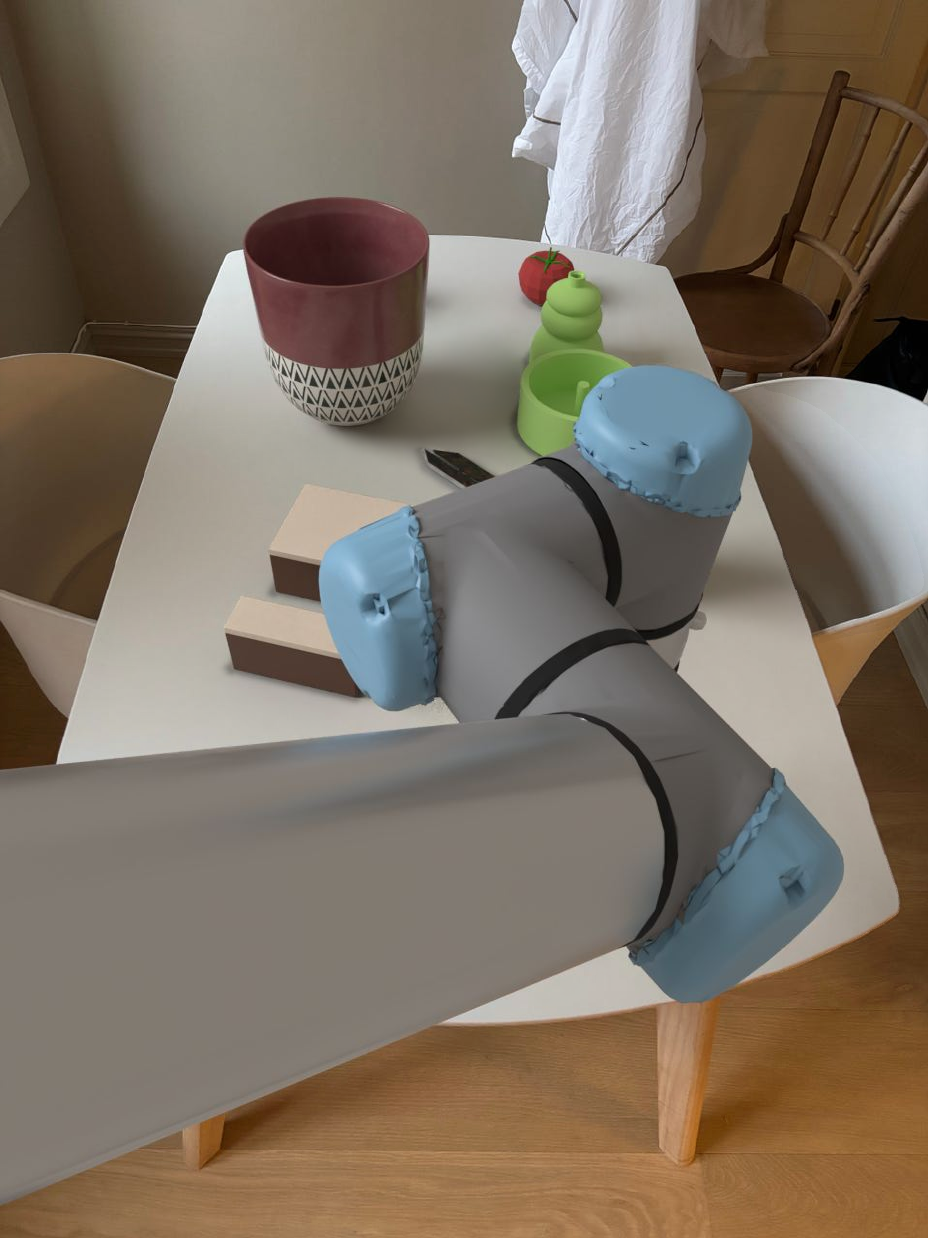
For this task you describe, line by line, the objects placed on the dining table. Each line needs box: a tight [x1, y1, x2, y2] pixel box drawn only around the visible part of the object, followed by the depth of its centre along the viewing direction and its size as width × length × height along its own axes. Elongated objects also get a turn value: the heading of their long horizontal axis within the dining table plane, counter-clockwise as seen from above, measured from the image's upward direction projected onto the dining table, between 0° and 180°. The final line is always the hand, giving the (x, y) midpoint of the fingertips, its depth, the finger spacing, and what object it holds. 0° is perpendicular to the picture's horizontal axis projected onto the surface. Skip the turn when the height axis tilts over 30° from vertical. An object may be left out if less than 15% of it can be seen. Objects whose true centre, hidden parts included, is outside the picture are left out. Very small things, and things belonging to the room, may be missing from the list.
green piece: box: [516, 269, 634, 457], centre depth 112 cm, size 25×15×13 cm, turn 2°
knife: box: [421, 448, 496, 490], centre depth 103 cm, size 25×6×1 cm, turn 41°
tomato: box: [518, 246, 575, 306], centre depth 130 cm, size 8×8×8 cm
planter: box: [242, 196, 431, 427], centre depth 106 cm, size 20×20×21 cm
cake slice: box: [223, 595, 360, 698], centre depth 86 cm, size 4×12×6 cm, turn 75°
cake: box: [268, 483, 416, 602], centre depth 94 cm, size 10×12×6 cm
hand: (563, 834), depth 67 cm, fingers open, 13 cm apart
